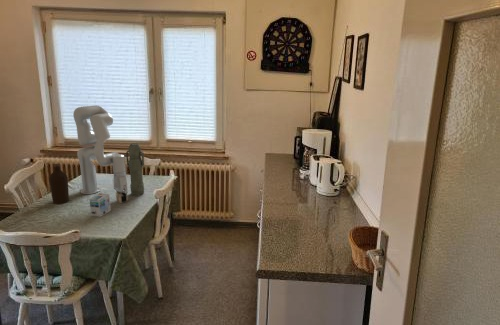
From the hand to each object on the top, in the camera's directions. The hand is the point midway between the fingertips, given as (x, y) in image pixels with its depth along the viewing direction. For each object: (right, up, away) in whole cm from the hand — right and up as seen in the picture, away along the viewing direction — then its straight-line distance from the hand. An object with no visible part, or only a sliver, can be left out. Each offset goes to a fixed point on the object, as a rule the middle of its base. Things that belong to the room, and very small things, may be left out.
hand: (122, 200), depth 242 cm
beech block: (0, -1, 0) cm, 1 cm away
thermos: (+6, +3, +15) cm, 16 cm away
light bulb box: (-6, -6, -20) cm, 21 cm away
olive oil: (-39, -1, -2) cm, 39 cm away
